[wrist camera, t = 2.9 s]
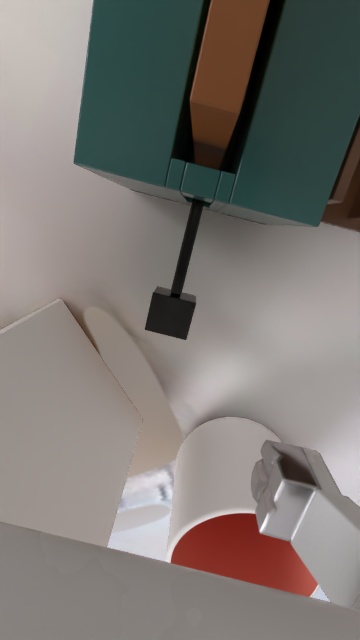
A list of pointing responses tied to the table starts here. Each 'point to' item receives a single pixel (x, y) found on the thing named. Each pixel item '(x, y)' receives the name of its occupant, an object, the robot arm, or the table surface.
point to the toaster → (254, 118)
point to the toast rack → (346, 189)
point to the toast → (223, 74)
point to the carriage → (178, 285)
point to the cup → (228, 510)
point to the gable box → (61, 429)
